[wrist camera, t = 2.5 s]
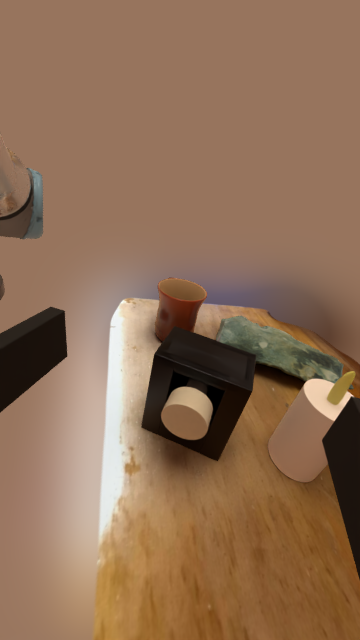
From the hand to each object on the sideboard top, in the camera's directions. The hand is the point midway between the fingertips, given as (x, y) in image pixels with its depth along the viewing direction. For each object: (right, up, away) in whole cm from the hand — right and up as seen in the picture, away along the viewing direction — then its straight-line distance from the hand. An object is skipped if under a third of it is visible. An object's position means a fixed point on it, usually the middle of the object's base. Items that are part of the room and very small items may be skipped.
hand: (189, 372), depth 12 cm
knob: (+1, -8, +16) cm, 18 cm away
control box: (0, -11, +21) cm, 24 cm away
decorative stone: (+17, -5, +37) cm, 42 cm away
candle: (+14, -15, +21) cm, 29 cm away
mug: (-2, 0, +39) cm, 39 cm away
